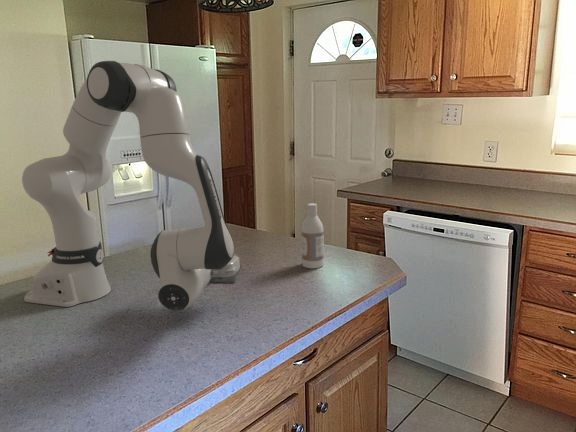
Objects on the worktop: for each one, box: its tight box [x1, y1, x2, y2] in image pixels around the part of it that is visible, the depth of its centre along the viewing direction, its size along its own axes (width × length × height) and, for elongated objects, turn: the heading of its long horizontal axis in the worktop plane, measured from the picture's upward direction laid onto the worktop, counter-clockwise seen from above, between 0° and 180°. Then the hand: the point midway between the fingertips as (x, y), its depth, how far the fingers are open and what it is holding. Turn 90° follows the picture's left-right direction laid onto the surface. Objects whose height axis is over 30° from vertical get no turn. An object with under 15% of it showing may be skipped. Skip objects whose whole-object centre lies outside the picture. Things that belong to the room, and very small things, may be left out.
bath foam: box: [301, 202, 325, 270], centre depth 156 cm, size 7×7×20 cm
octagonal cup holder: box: [209, 252, 244, 284], centre depth 151 cm, size 12×12×6 cm
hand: (207, 255), depth 138 cm, fingers open, 8 cm apart
